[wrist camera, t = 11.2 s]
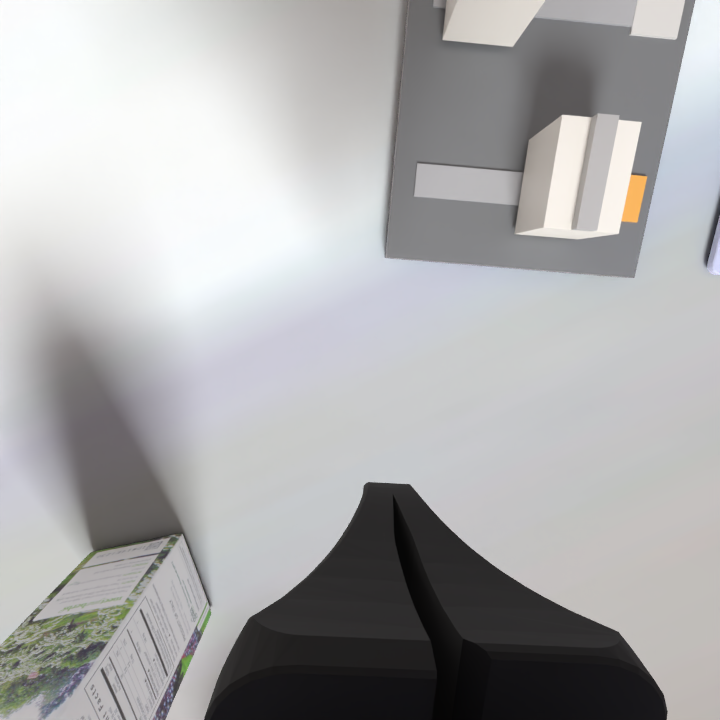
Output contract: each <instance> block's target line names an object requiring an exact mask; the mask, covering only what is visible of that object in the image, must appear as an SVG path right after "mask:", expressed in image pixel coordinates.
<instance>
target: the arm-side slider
mask: <svg viewBox="0 0 720 720" xmlns="http://www.w3.org/2000/svg"><path fill="white" fill-rule="evenodd" d="M619 116H620V115H610V114H600V113H598V114H596V115H595V116H593V117H582V116H571V115H561V116H560V117H559V118H557V119H556V120H555V121H553V122H552V123H551V124H549V125H548V126H547V127H545V128H544V129H543V130H541V131H540V132H539V133H537V134H536V135H535V136H533V137H532V138H531V139H529V142H528V149H527V155H526V162H525V168H524V175H523V181H522V188H521V194H520V201H519V207H518V214H517V220H516V227H515V233H514V234H520V235H532V236H544V237H555V238H567V239H585V238H592V237H599V236H607V235H614V234H619V230H620V225H621V220H622V215H623V211H624V206H625V201H626V196H627V191H628V186H629V182H630V177H631V172H632V167H633V162H634V157H635V153H636V148H637V143H638V138H639V133H640V128H641V124H642V122H636V121H625V120H619Z"/></svg>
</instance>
